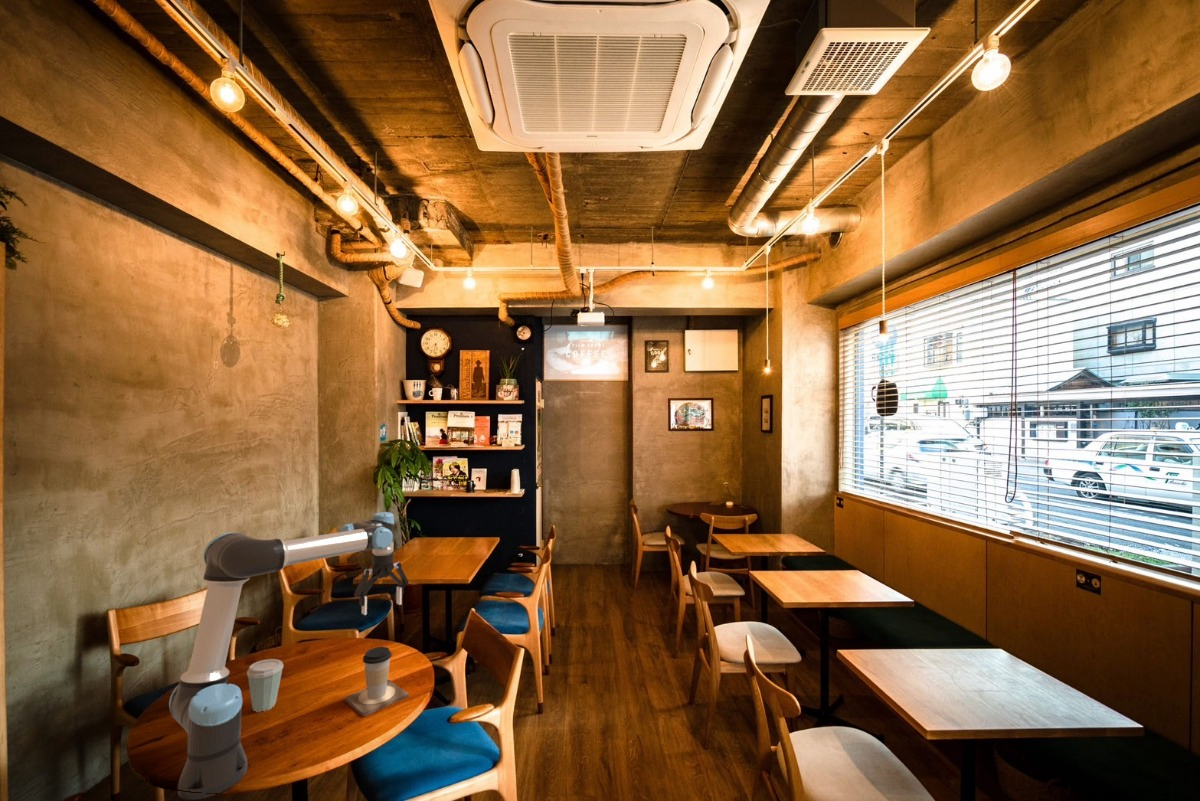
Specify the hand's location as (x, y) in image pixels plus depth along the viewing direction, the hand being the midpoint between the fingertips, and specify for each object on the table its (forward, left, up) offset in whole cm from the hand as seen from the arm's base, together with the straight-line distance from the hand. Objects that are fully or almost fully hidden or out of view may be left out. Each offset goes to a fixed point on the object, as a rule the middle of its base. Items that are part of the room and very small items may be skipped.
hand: (382, 608), depth 191 cm
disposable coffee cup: (-35, +12, -27) cm, 46 cm away
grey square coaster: (-7, -12, -27) cm, 30 cm away
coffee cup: (-7, -12, -25) cm, 29 cm away
